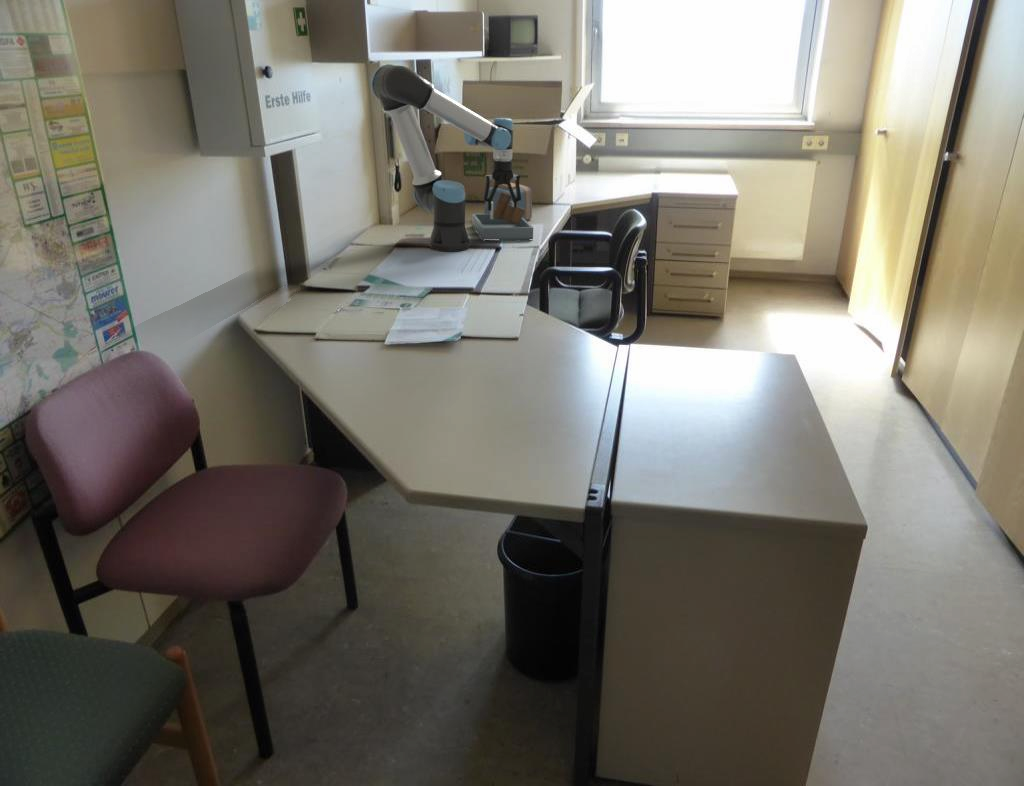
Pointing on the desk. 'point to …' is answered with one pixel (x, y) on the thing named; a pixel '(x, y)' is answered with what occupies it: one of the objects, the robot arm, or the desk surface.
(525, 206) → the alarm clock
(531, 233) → the crate
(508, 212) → the wooden block set
